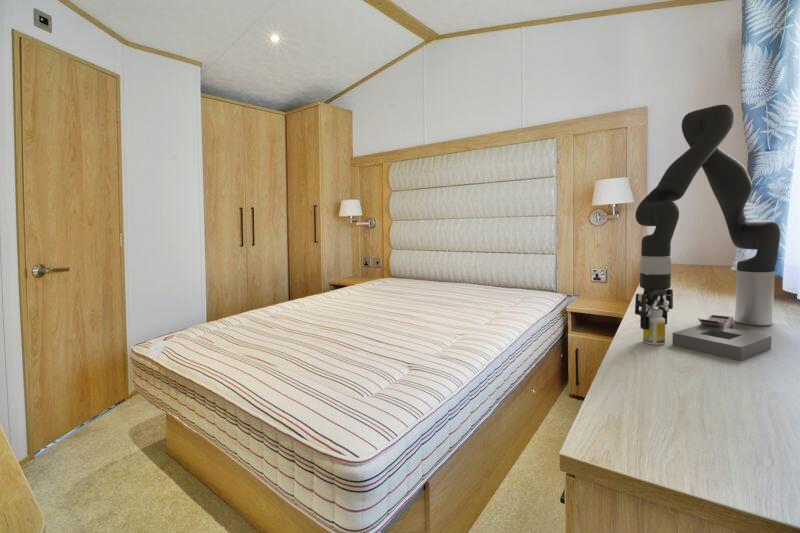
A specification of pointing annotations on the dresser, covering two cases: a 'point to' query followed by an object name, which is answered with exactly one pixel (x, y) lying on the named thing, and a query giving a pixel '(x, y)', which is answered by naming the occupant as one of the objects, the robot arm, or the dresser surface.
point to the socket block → (722, 341)
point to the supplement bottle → (655, 329)
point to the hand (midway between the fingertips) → (653, 326)
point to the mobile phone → (718, 321)
